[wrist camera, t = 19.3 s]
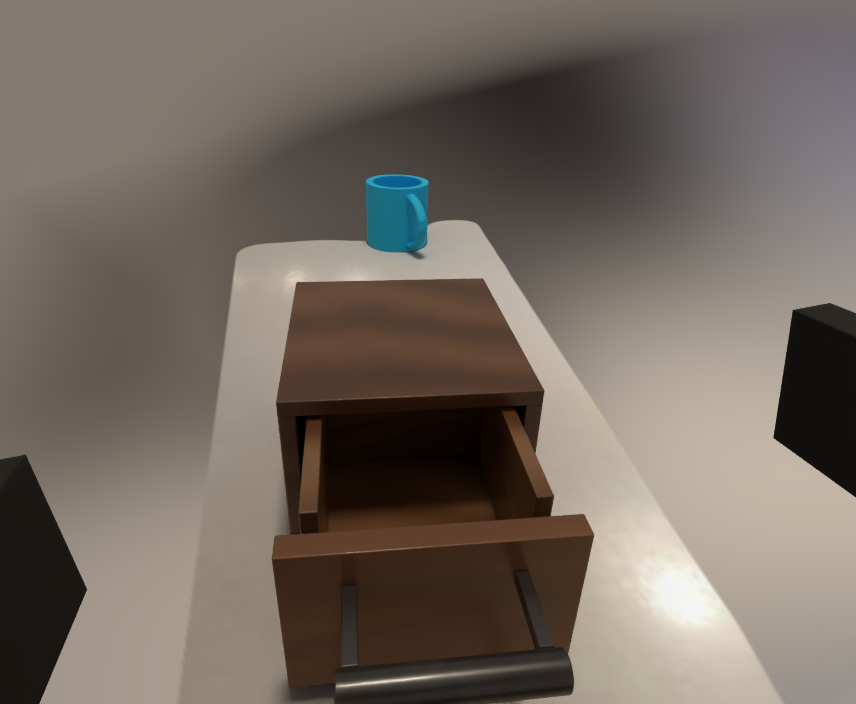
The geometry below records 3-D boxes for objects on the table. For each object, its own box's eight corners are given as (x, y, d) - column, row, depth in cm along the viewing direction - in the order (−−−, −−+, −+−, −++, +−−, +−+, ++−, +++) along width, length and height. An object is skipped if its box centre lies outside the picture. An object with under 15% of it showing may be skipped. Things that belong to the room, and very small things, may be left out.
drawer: (608, 777, 24) (650, 646, 20) (278, 819, 22) (255, 686, 18) (496, 459, 41) (507, 356, 37) (305, 470, 39) (296, 364, 35)
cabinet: (525, 528, 36) (544, 390, 32) (291, 545, 35) (275, 402, 30) (474, 388, 50) (483, 278, 45) (305, 396, 48) (296, 282, 44)
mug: (357, 236, 84) (356, 177, 80) (410, 230, 88) (411, 172, 84) (394, 265, 75) (394, 199, 71) (451, 256, 78) (454, 193, 74)
